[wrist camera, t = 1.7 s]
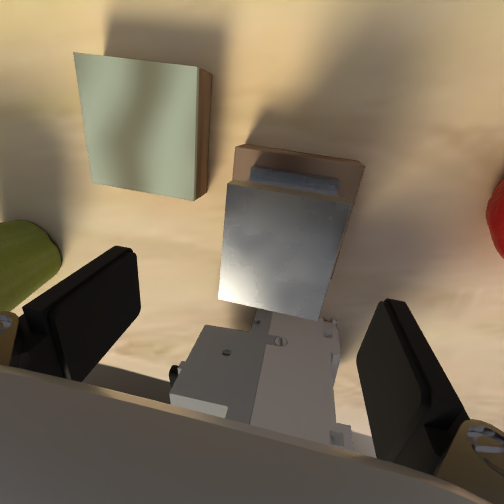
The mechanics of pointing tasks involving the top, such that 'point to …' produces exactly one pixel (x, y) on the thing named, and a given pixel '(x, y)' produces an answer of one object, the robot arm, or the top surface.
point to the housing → (281, 240)
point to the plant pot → (24, 261)
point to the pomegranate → (497, 217)
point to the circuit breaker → (267, 377)
